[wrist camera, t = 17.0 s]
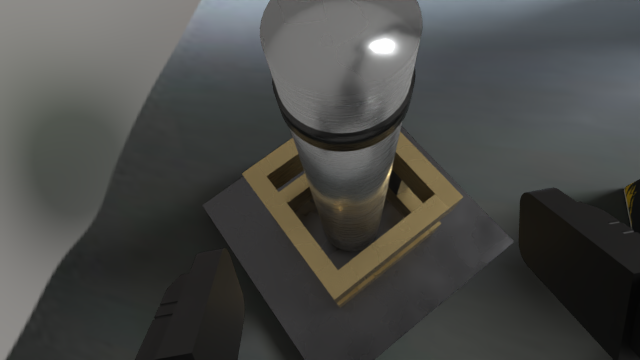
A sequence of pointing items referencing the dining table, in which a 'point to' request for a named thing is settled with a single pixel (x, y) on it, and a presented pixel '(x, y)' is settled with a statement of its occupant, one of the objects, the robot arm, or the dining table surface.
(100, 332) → the dining table surface
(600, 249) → the robot arm
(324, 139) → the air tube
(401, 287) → the collar stand
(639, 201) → the medicine bottle
